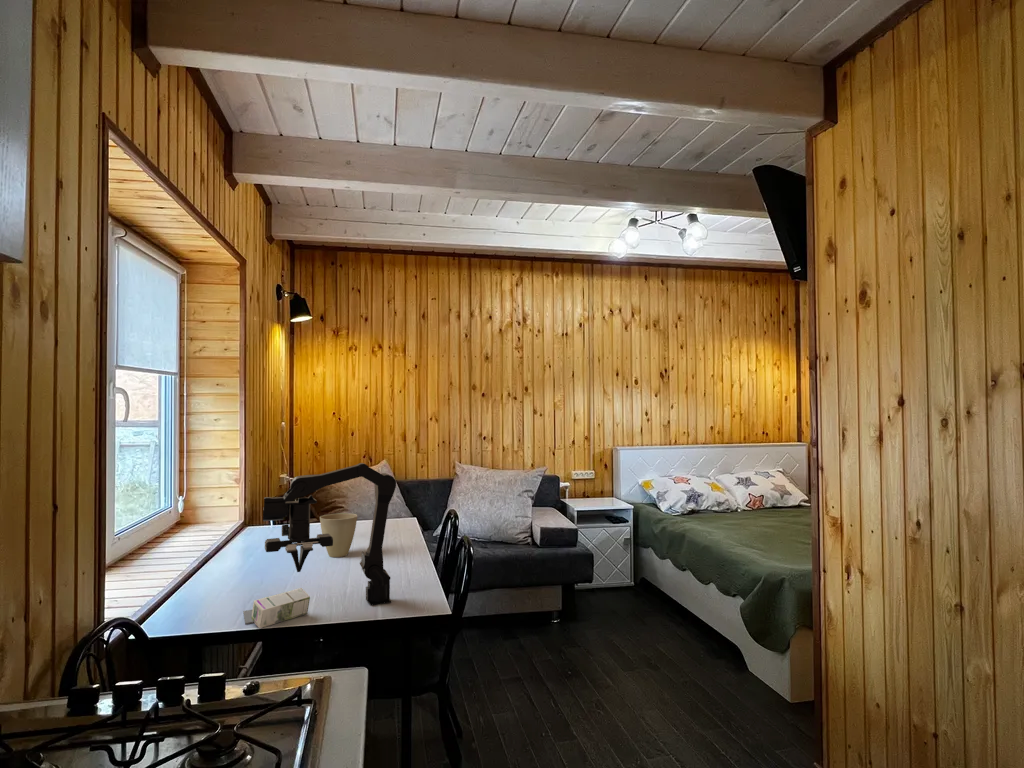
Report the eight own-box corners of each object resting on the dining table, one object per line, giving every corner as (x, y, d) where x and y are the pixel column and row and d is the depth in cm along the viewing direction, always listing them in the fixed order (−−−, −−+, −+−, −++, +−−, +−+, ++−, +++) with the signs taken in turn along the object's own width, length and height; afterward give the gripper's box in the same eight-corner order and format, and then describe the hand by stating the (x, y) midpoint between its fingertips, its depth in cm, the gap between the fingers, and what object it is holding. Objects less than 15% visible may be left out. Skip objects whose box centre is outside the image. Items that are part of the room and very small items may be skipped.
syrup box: (301, 586, 173) (252, 599, 162) (311, 596, 169) (261, 610, 158) (298, 604, 174) (249, 618, 163) (308, 614, 170) (259, 629, 159)
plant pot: (364, 554, 240) (364, 515, 240) (331, 561, 229) (331, 521, 230) (344, 549, 250) (345, 511, 251) (312, 555, 239) (313, 516, 240)
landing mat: (293, 604, 179) (293, 603, 179) (298, 616, 169) (298, 614, 169) (243, 612, 172) (243, 610, 172) (245, 624, 163) (245, 623, 163)
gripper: (327, 512, 185) (326, 561, 185) (263, 516, 177) (262, 569, 176) (333, 518, 175) (332, 570, 175) (266, 523, 167) (265, 578, 166)
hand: (298, 571), depth 173 cm, fingers closed
